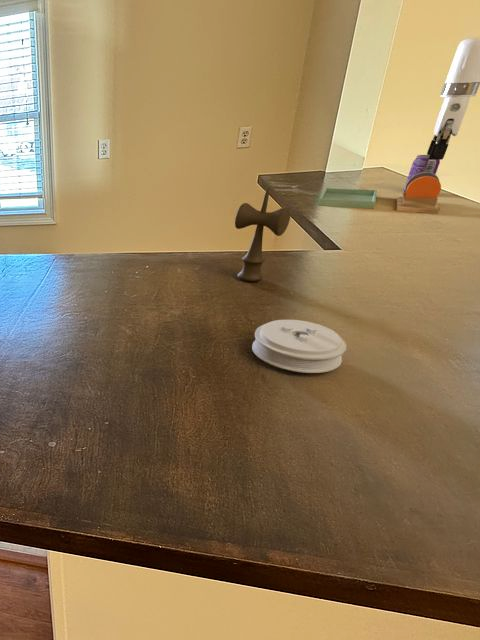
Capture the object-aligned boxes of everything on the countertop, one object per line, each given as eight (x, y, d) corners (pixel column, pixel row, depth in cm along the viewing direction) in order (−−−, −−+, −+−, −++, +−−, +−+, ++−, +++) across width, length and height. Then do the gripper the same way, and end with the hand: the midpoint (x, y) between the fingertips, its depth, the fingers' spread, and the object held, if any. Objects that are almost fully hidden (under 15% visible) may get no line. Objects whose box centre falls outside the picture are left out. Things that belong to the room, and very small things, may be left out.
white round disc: (245, 337, 85) (251, 311, 82) (327, 342, 81) (335, 316, 79) (257, 374, 75) (263, 346, 72) (351, 382, 71) (361, 352, 68)
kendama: (266, 288, 103) (287, 192, 93) (222, 278, 110) (238, 187, 100) (277, 280, 107) (299, 186, 97) (234, 271, 113) (250, 183, 103)
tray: (323, 194, 174) (325, 188, 173) (374, 196, 166) (376, 190, 165) (317, 205, 160) (319, 198, 159) (373, 208, 152) (375, 201, 151)
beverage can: (431, 192, 165) (445, 155, 159) (423, 196, 162) (437, 158, 156) (407, 190, 170) (420, 154, 164) (398, 193, 167) (411, 156, 161)
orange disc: (401, 201, 150) (411, 175, 146) (434, 204, 146) (445, 177, 142) (401, 202, 149) (412, 175, 145) (434, 205, 145) (446, 177, 141)
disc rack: (396, 200, 159) (400, 188, 157) (434, 202, 154) (439, 190, 152) (396, 211, 148) (400, 198, 146) (438, 213, 143) (442, 200, 141)
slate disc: (402, 198, 155) (410, 172, 151) (434, 198, 151) (443, 171, 147) (402, 198, 154) (410, 172, 151) (434, 199, 150) (443, 172, 146)
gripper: (481, 91, 124) (453, 161, 133) (473, 88, 136) (448, 153, 145) (444, 92, 128) (419, 160, 137) (439, 89, 140) (417, 152, 149)
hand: (434, 156), depth 141 cm, fingers open, 9 cm apart
